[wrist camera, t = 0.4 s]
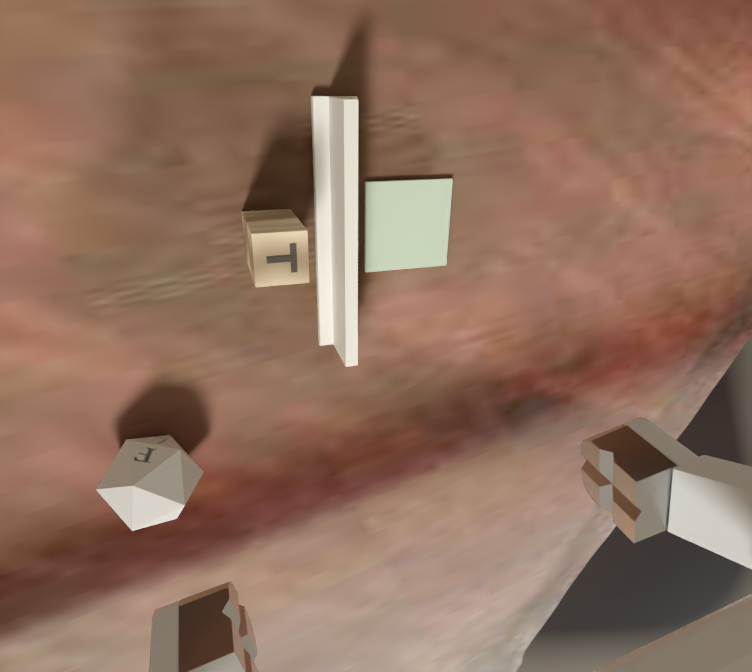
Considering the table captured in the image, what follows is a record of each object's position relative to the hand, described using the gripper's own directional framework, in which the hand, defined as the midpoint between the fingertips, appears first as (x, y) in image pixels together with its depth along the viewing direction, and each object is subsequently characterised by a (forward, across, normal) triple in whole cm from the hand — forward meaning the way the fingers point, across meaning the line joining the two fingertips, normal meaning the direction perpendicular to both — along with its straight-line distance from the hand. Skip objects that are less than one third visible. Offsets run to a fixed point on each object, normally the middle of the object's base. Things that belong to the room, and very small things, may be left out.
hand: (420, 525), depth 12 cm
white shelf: (+44, -8, +7) cm, 45 cm away
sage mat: (+44, -15, +8) cm, 47 cm away
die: (+44, +17, +25) cm, 53 cm away
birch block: (+44, -1, +5) cm, 44 cm away
